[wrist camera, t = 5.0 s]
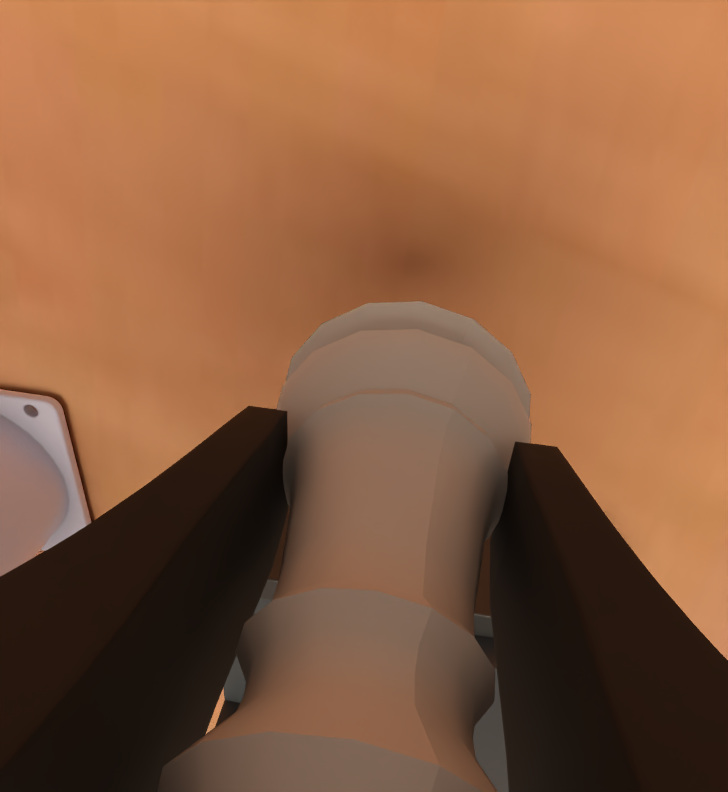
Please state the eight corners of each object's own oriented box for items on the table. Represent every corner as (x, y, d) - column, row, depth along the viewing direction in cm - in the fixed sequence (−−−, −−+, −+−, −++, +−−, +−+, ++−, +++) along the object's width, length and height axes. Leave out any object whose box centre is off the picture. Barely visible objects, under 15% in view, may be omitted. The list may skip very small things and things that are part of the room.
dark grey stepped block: (243, 662, 29) (200, 785, 24) (229, 472, 22) (167, 590, 17) (535, 715, 27) (550, 855, 23) (613, 530, 21) (654, 674, 16)
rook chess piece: (355, 238, 9) (94, 758, 3) (582, 369, 10) (816, 1047, 3) (253, 428, 12) (-22, 955, 5) (443, 524, 12) (420, 1104, 6)
